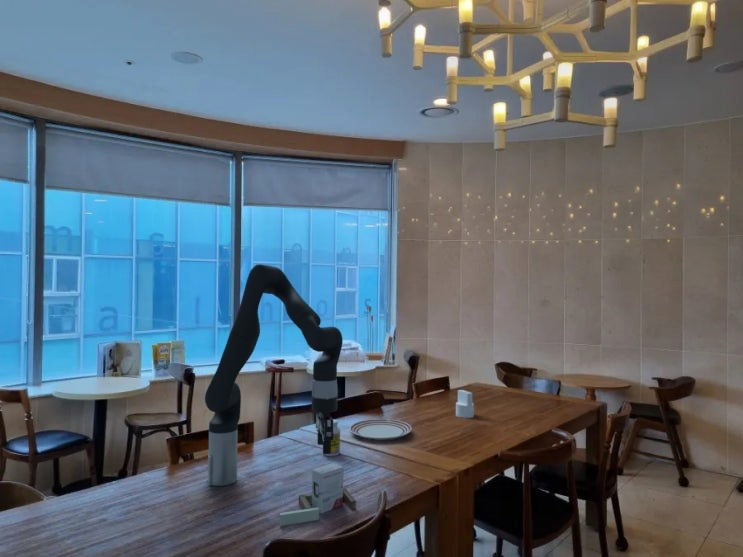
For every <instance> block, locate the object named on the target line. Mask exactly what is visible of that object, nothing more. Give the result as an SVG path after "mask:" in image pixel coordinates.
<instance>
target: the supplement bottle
mask: <svg viewBox="0 0 743 557" xmlns="http://www.w3.org/2000/svg"><path fill="white" fill-rule="evenodd" d="M332 419H333V418H332ZM338 423H339V420H337V419H333V441H331V453H330V454H323V455H324V456H325V457H326V456H327V457H336V456H338V455H340V452H341V450H340V448H341V428H340V427H339V426H338ZM327 436H329V434H326V437H327Z"/></svg>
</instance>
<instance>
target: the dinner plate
mask: <svg viewBox="0 0 743 557" xmlns="http://www.w3.org/2000/svg"><path fill="white" fill-rule="evenodd" d="M349 431H350V432H351V433H352V434H353V435H356V436H359V437H361V438H364V439H367V438H368V439H367V440H371V439H374V440H373V441H389V440H388V439H391V440H395V438H396V439H399V438H402V437H403V436H407V435H408V434H409V433H410V432H412V425H411V424H409V423H407V422H405V421H402V420H397V419H388V418H372V419H371V418H369V419H365V420H360V421H356V422H354V423H353V424H351V425H350V426H349Z"/></svg>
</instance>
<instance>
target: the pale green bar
mask: <svg viewBox="0 0 743 557" xmlns="http://www.w3.org/2000/svg"><path fill="white" fill-rule="evenodd" d="M319 520H320V513H319V508H318V507H317V508H312V507H311V509H304V510H302V509H299V510H292V511H286V512H280V513H279V523H278V524H279V527H283V526H288V525H289V526H290V525H296V524H302V523H306V522H313V521H315V522H316V521H319Z"/></svg>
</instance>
